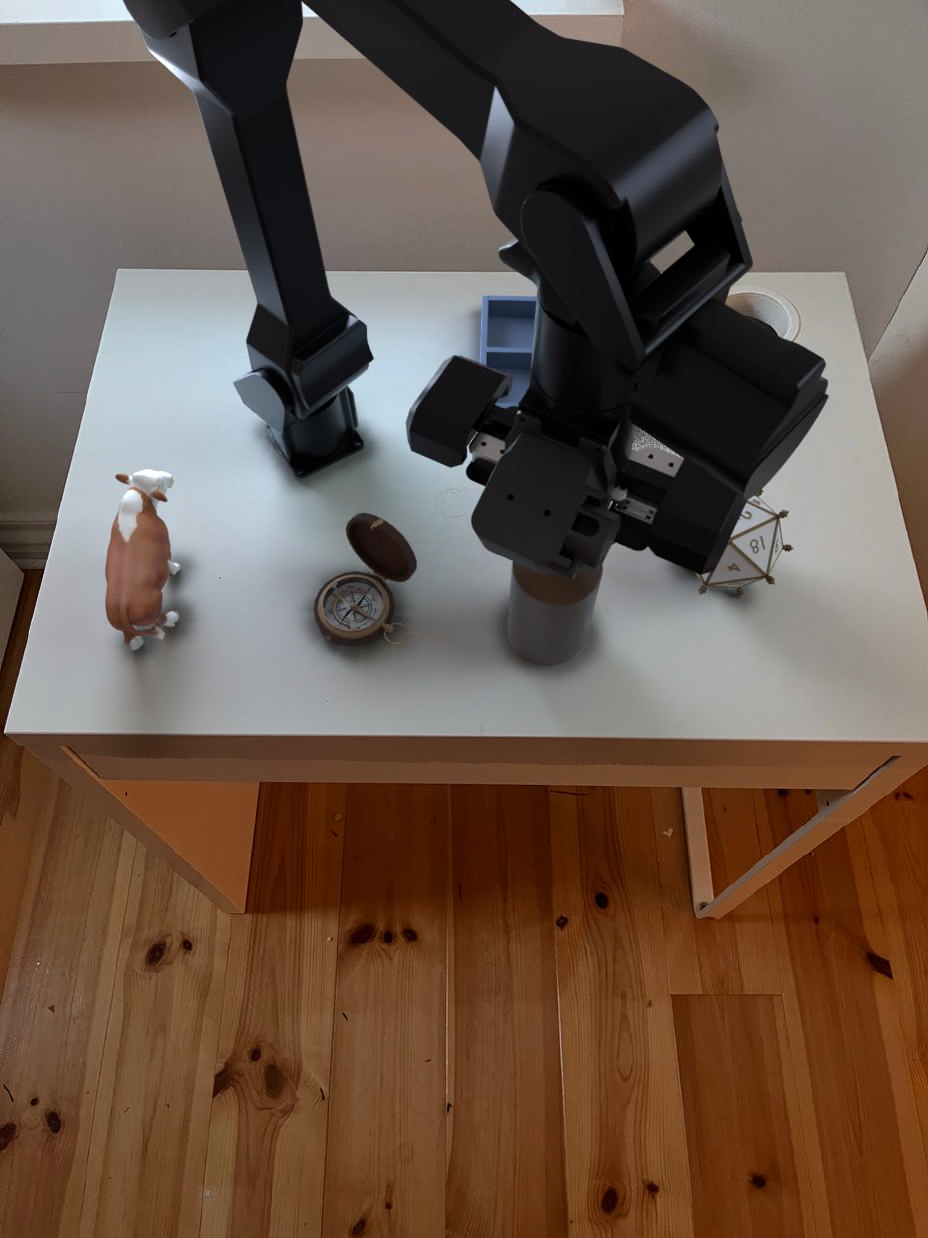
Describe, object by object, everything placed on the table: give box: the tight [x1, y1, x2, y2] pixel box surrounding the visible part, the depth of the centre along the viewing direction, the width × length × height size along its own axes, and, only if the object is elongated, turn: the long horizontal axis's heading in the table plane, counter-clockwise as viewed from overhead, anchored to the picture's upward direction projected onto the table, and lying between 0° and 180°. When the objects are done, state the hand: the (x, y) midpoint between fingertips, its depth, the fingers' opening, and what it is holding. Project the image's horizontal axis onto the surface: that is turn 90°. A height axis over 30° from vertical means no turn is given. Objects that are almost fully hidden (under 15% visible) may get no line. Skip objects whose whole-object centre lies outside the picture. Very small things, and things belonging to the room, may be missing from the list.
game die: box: [695, 488, 795, 598], centre depth 67 cm, size 9×8×10 cm
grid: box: [479, 295, 537, 409], centre depth 78 cm, size 13×13×2 cm
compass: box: [313, 512, 418, 647], centre depth 65 cm, size 8×8×7 cm
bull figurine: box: [104, 469, 182, 651], centre depth 66 cm, size 4×13×8 cm, turn 179°
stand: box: [507, 561, 604, 666], centre depth 64 cm, size 6×6×10 cm
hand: (562, 540), depth 57 cm, fingers closed on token, 4 cm apart
